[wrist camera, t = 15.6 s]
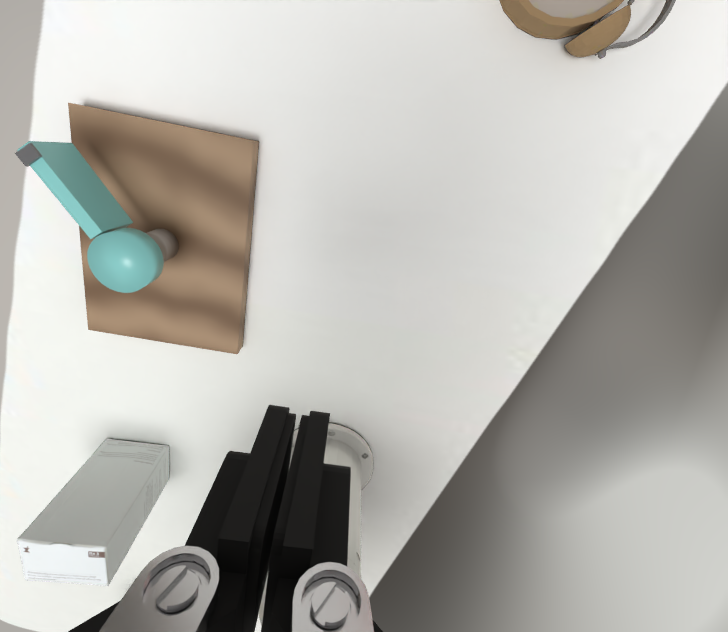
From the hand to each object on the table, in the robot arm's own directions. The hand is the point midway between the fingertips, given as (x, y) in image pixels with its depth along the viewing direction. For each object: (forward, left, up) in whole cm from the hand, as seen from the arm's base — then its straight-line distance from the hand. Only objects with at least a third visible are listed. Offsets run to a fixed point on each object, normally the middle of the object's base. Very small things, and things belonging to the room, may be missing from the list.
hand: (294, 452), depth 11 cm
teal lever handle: (-1, +20, -27) cm, 33 cm away
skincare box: (-34, +21, -32) cm, 51 cm away
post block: (-4, +17, -32) cm, 36 cm away
